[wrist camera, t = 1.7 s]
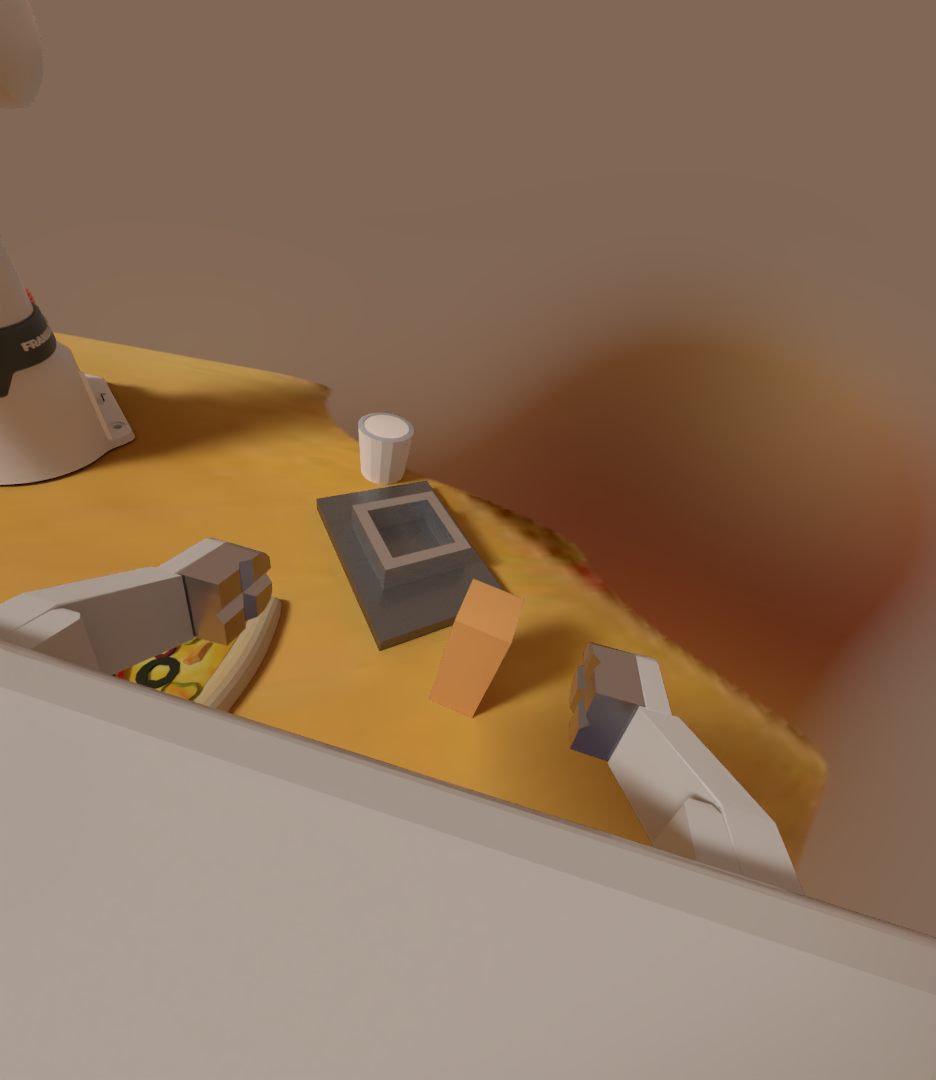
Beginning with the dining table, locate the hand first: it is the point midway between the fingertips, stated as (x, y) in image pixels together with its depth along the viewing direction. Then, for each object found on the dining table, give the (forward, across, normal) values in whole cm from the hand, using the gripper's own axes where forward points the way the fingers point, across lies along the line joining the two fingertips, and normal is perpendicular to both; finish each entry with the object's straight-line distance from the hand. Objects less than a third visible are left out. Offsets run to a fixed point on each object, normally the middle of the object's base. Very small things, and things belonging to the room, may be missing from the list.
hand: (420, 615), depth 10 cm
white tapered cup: (+43, +17, +15) cm, 49 cm away
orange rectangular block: (+18, 0, +23) cm, 29 cm away
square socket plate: (+31, +9, +19) cm, 37 cm away
